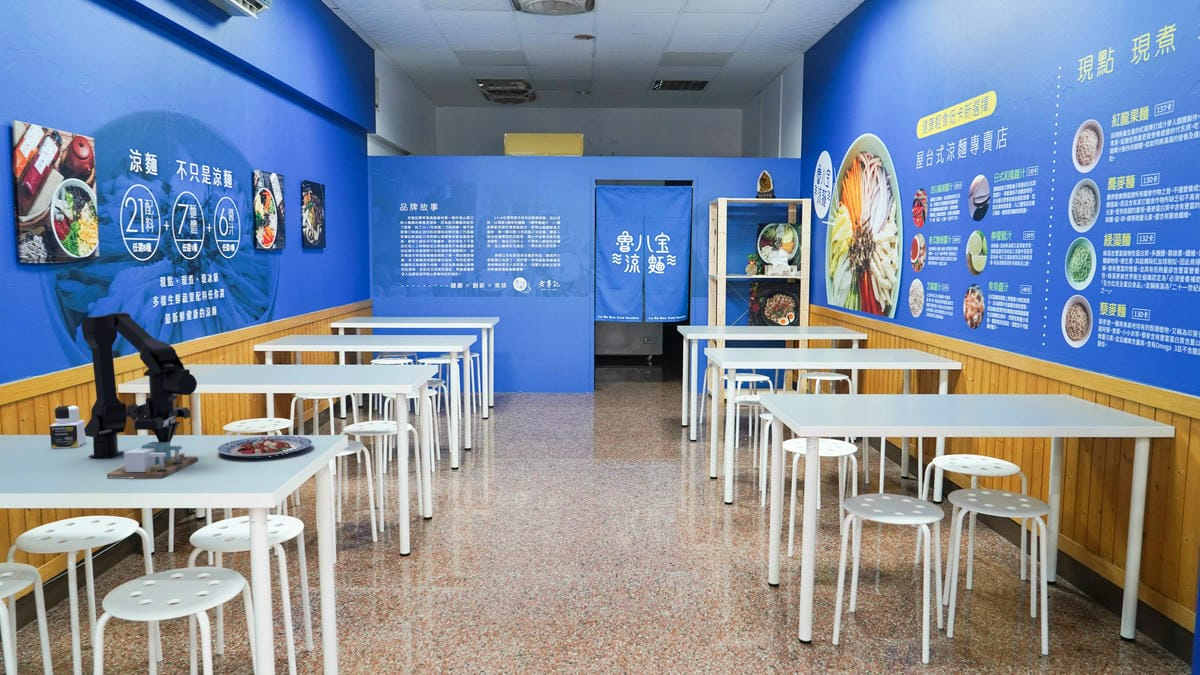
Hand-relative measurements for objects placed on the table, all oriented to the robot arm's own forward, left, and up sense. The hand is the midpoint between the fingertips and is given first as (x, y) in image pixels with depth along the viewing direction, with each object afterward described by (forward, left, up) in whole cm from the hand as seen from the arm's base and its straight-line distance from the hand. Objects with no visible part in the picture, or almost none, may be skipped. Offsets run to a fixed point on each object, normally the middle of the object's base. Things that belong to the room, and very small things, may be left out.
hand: (164, 449), depth 232 cm
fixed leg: (+12, +2, -2) cm, 12 cm away
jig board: (+6, 0, -4) cm, 7 cm away
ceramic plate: (-16, +21, -4) cm, 27 cm away
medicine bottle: (-23, -41, -4) cm, 47 cm away
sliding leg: (+4, +2, -3) cm, 5 cm away
